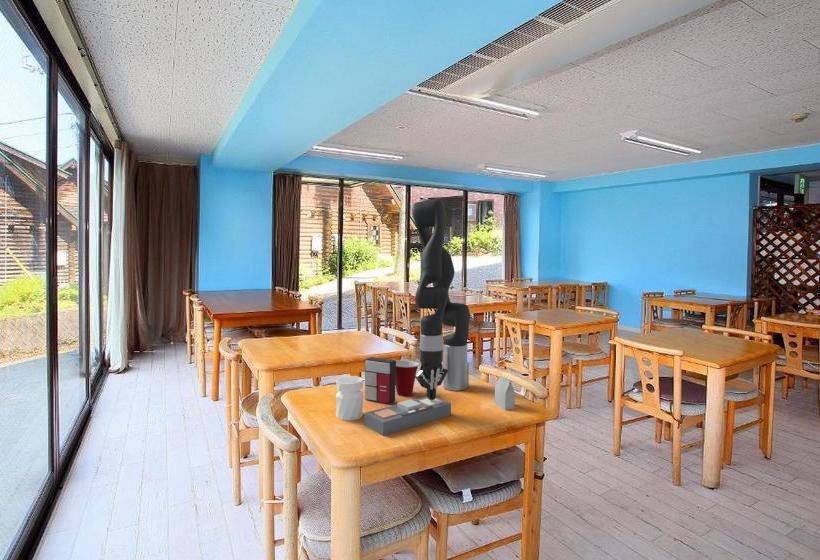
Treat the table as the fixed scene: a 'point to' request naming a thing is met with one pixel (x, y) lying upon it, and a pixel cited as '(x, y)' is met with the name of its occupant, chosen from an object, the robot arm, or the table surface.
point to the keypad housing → (406, 417)
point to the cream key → (430, 402)
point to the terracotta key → (385, 413)
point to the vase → (349, 398)
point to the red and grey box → (380, 380)
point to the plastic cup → (405, 377)
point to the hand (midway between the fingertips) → (431, 399)
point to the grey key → (408, 405)
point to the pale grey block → (504, 393)
